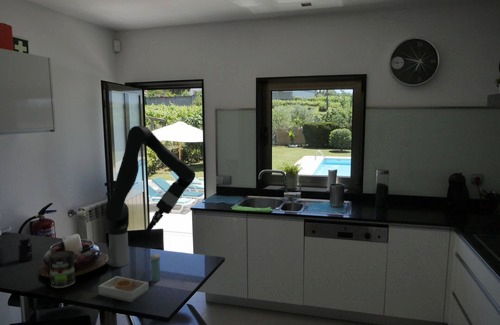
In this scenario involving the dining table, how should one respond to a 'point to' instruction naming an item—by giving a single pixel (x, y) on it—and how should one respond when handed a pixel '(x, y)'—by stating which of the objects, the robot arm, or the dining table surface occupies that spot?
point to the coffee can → (62, 269)
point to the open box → (123, 288)
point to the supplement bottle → (25, 250)
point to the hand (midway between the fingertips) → (148, 229)
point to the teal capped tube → (155, 267)
